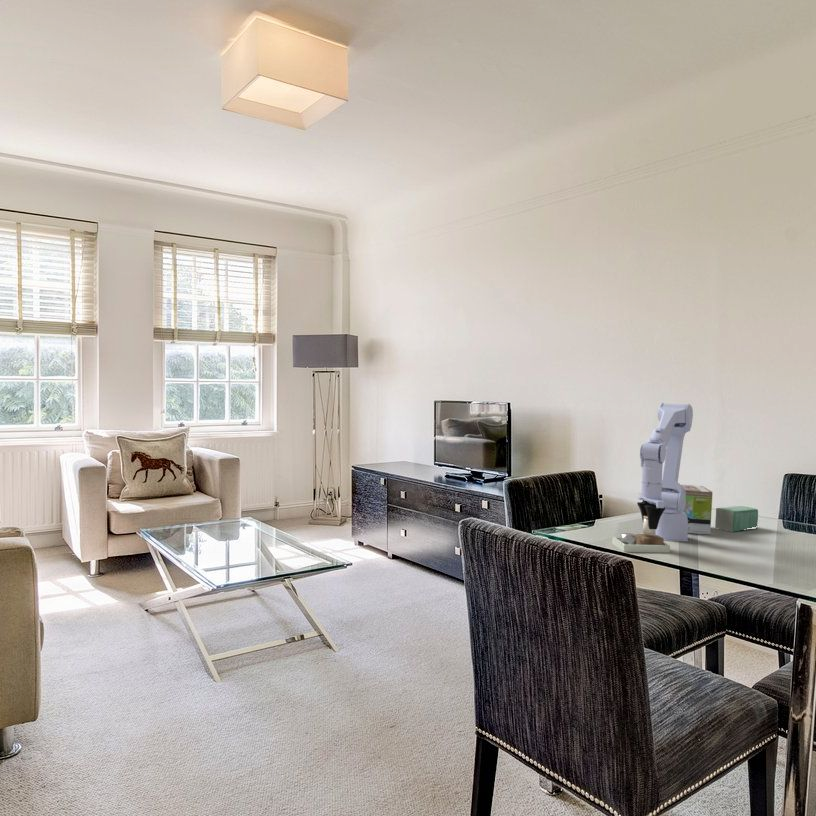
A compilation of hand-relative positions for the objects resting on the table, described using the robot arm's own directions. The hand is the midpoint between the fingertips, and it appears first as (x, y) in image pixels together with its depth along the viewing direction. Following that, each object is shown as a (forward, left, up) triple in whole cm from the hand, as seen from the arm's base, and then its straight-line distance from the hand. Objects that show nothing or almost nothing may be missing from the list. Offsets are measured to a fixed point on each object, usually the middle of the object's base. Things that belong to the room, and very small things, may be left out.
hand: (650, 527), depth 205 cm
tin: (+6, 0, -6) cm, 9 cm away
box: (-44, -31, -7) cm, 54 cm away
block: (0, 0, -6) cm, 6 cm away
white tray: (+3, 0, -6) cm, 7 cm away
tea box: (-26, -29, -7) cm, 40 cm away
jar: (0, 0, -2) cm, 2 cm away
